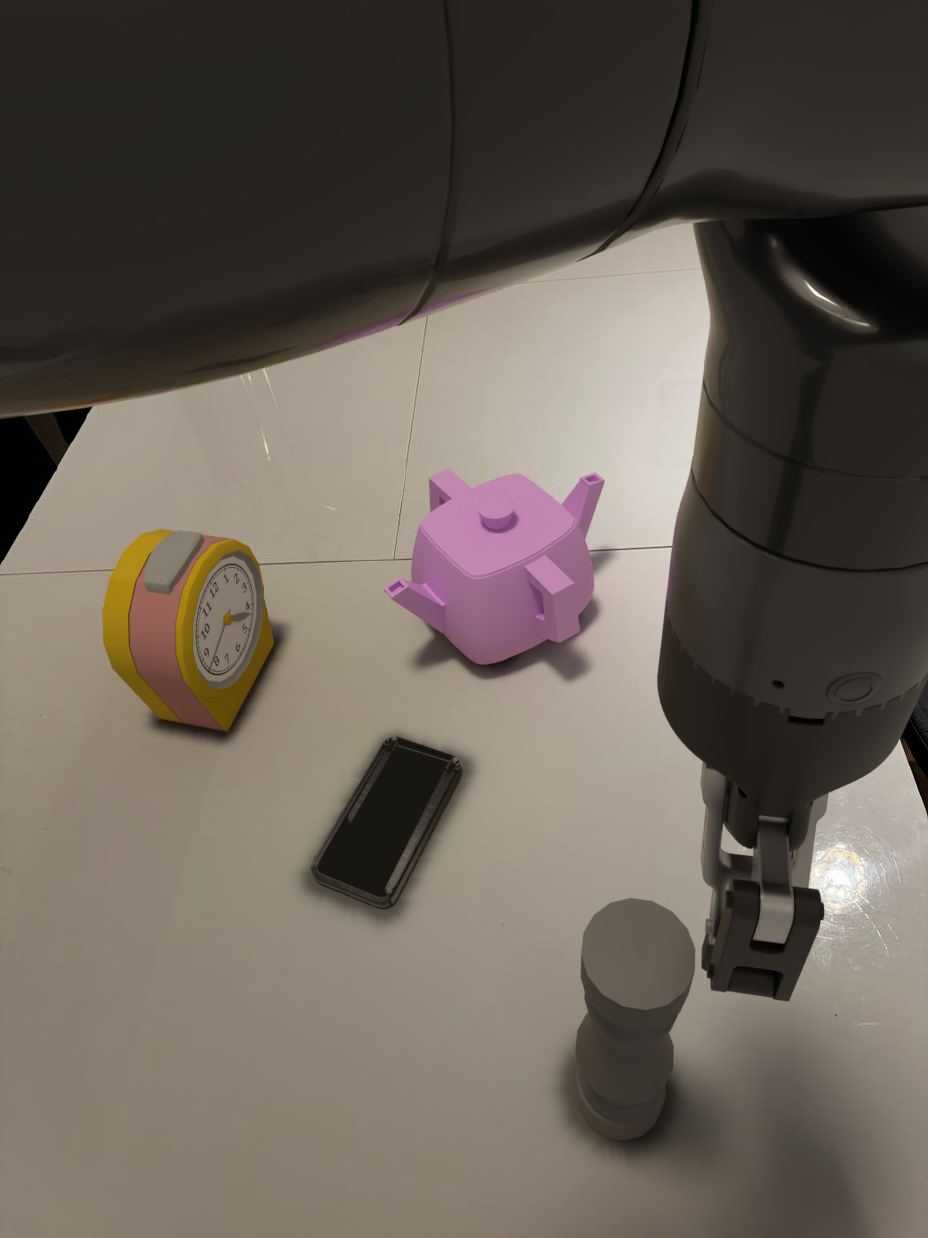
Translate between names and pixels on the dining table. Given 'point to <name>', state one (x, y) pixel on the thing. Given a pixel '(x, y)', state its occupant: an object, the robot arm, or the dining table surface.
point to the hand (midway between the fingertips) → (728, 865)
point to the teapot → (501, 564)
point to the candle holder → (630, 1014)
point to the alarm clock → (187, 625)
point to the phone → (386, 822)
